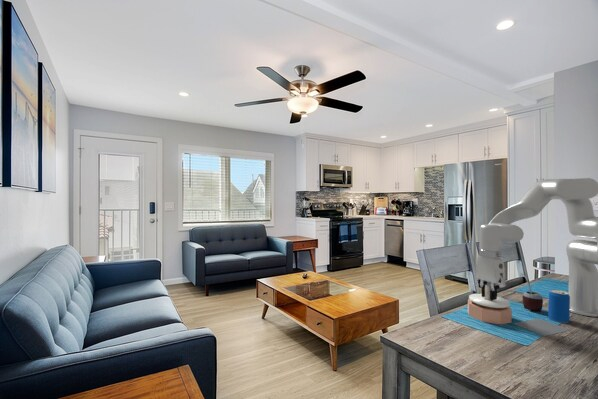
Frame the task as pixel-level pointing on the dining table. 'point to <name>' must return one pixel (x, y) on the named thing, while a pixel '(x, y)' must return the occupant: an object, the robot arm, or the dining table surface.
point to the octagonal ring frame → (490, 313)
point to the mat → (541, 327)
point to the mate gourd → (532, 299)
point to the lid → (486, 300)
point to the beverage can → (559, 306)
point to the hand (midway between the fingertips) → (489, 297)
